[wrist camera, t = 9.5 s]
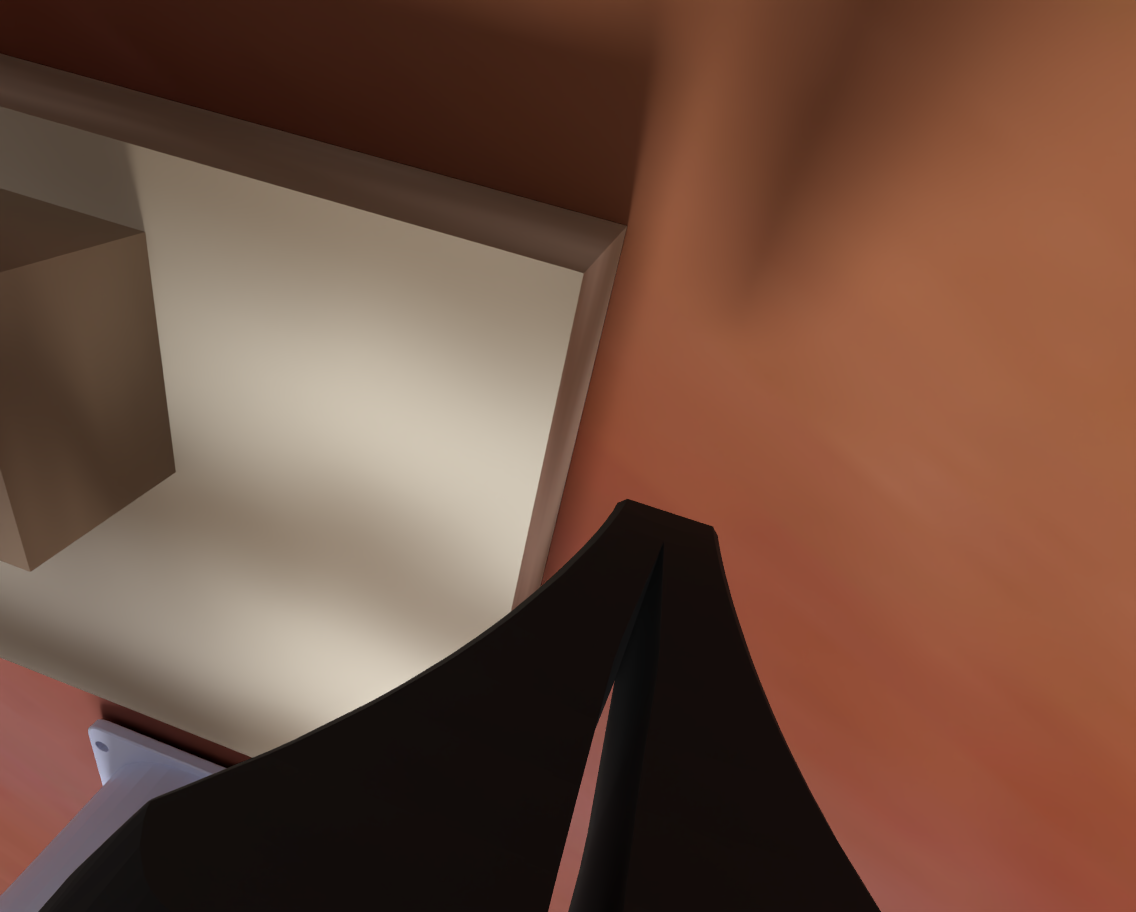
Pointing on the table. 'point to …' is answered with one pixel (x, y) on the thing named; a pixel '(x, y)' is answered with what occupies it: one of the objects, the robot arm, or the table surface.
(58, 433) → the walnut block
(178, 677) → the maple board
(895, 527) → the table surface
